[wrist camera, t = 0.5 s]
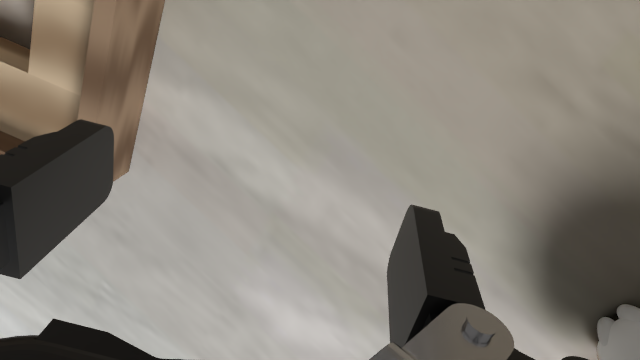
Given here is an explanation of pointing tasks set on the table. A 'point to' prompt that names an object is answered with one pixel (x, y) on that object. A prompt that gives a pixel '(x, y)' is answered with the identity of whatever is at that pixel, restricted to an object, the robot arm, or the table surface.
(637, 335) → the kitten
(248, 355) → the table surface
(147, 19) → the box
